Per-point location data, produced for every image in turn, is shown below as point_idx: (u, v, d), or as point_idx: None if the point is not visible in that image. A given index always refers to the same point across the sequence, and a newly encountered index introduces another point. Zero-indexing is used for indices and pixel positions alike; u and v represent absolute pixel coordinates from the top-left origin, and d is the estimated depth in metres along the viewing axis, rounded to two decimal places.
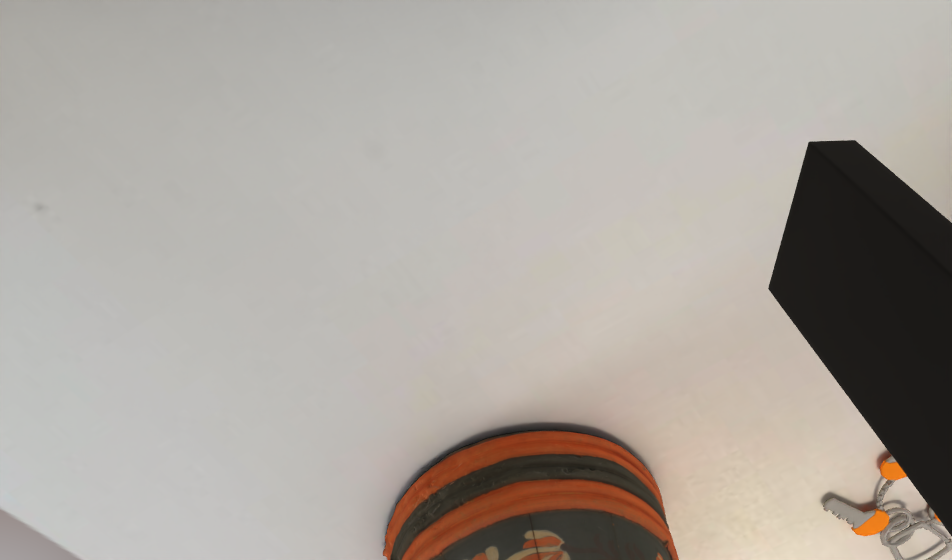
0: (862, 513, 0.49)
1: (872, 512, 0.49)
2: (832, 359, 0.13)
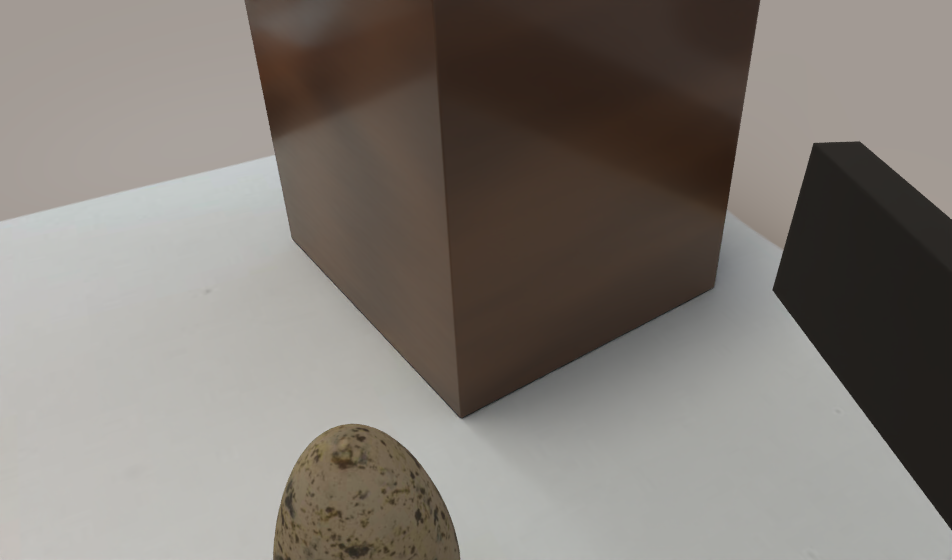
0: None
1: None
2: (837, 361, 0.13)
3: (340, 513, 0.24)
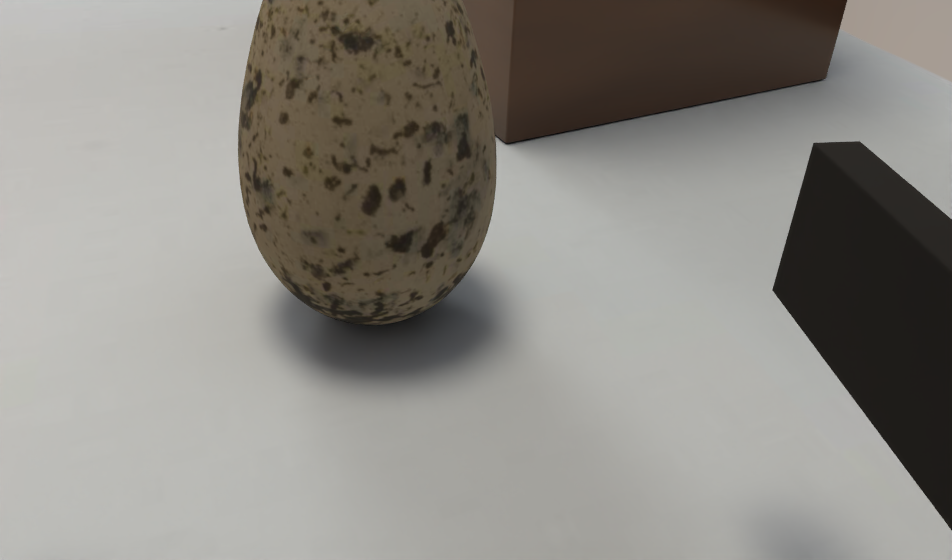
0: None
1: None
2: (836, 361, 0.13)
3: None
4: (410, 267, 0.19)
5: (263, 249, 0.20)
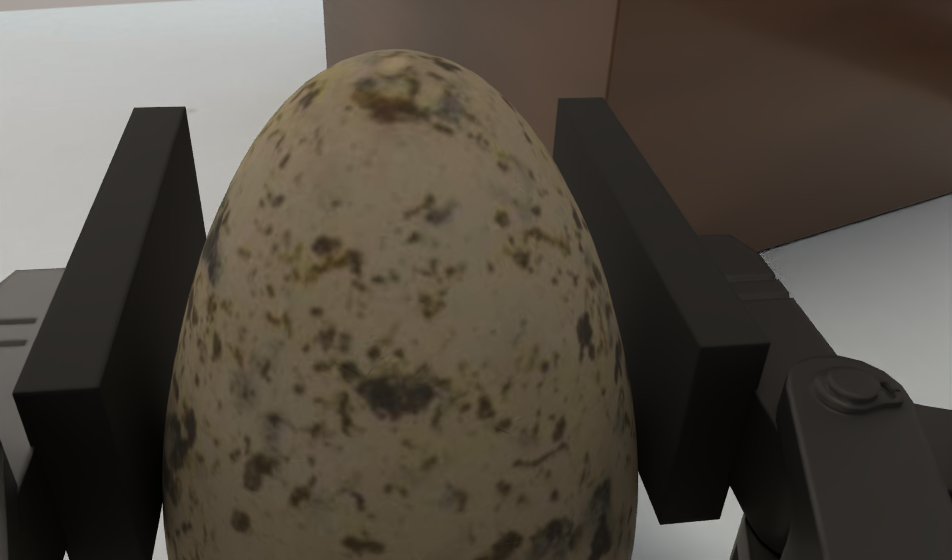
0: None
1: None
2: None
3: (359, 258, 0.07)
4: None
5: None
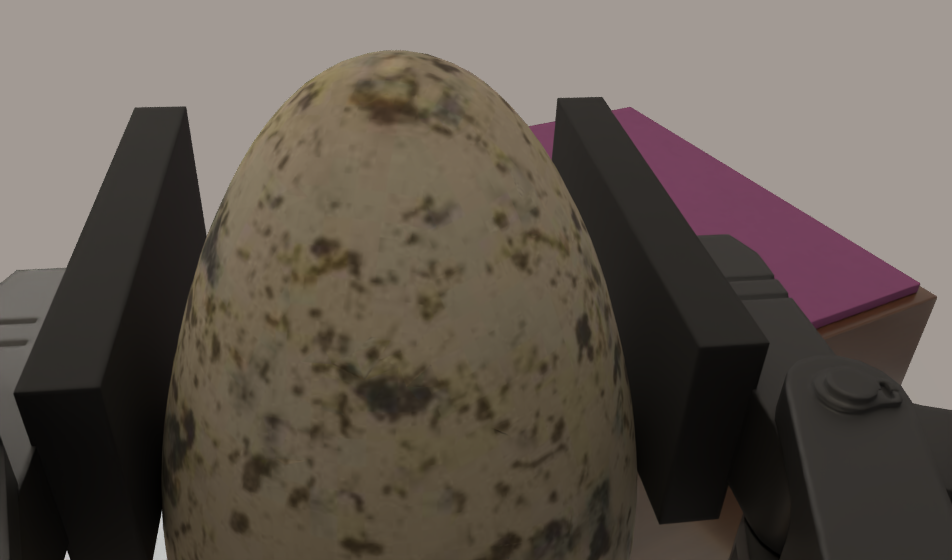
0: None
1: None
2: None
3: (359, 261, 0.07)
4: None
5: None
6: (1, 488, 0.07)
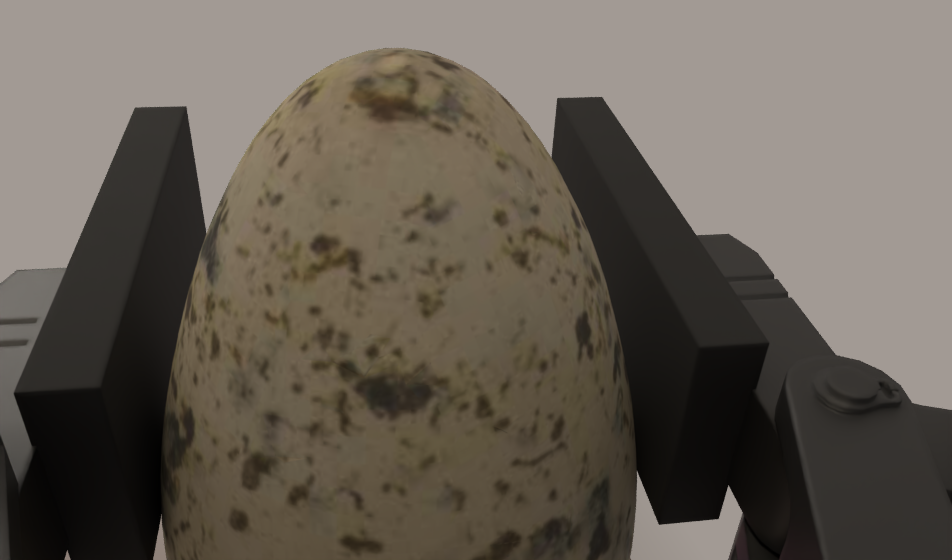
0: None
1: None
2: None
3: (358, 257, 0.07)
4: None
5: None
6: (1, 488, 0.07)
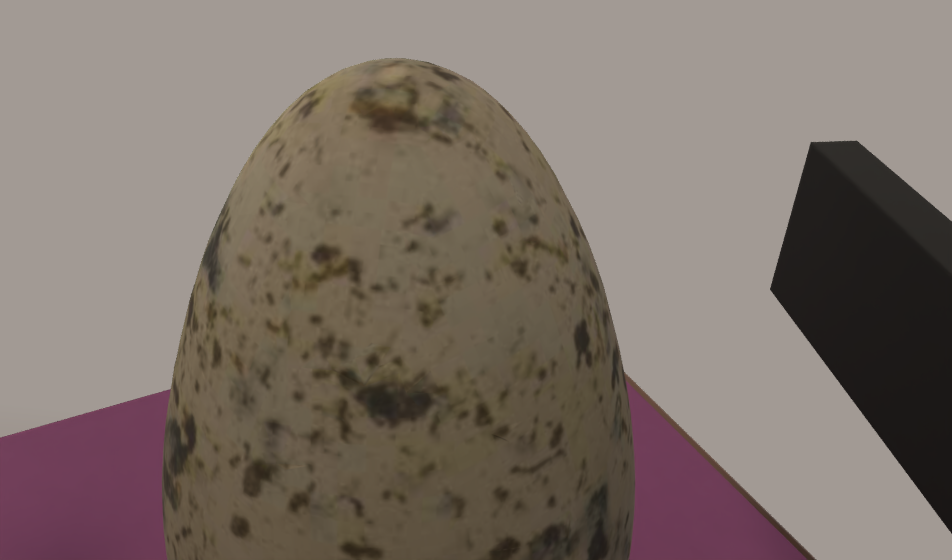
0: None
1: None
2: (834, 360, 0.13)
3: (359, 267, 0.07)
4: None
5: None
6: None
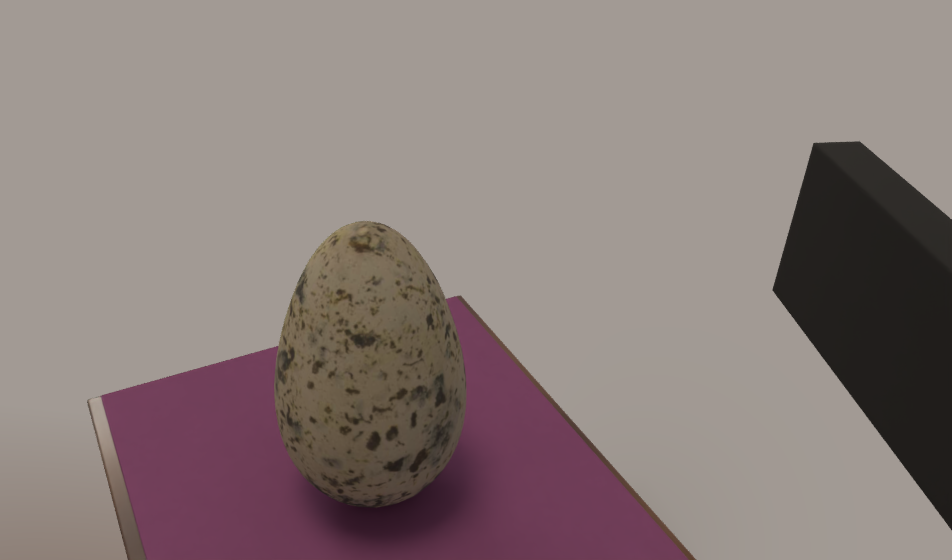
0: None
1: None
2: (837, 361, 0.13)
3: (351, 296, 0.23)
4: (402, 478, 0.26)
5: (293, 459, 0.27)
6: None
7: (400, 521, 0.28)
